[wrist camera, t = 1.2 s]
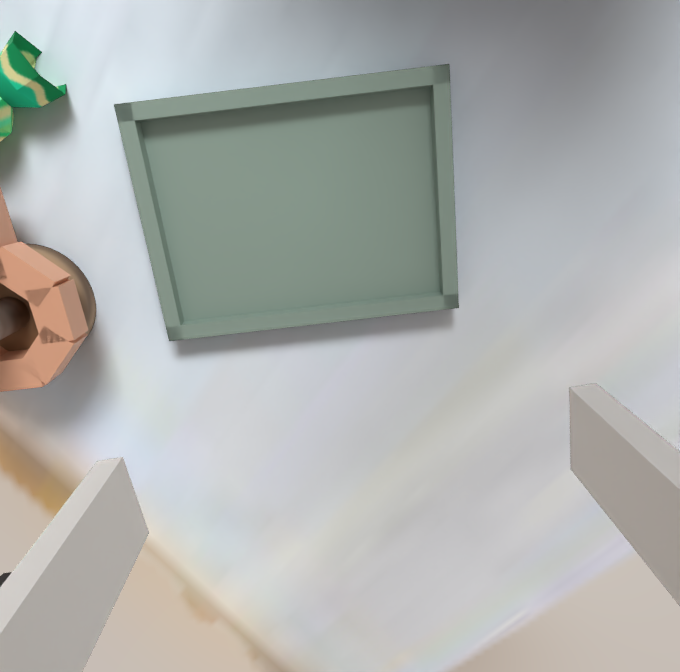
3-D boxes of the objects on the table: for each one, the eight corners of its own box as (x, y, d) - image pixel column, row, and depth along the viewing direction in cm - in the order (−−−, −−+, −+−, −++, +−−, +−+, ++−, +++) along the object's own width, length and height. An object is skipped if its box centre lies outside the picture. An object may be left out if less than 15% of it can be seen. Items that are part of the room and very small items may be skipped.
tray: (175, 333, 37) (169, 341, 35) (124, 107, 32) (113, 104, 30) (453, 301, 36) (458, 307, 35) (443, 68, 32) (449, 63, 30)
